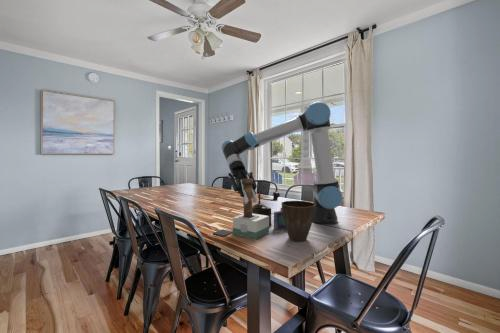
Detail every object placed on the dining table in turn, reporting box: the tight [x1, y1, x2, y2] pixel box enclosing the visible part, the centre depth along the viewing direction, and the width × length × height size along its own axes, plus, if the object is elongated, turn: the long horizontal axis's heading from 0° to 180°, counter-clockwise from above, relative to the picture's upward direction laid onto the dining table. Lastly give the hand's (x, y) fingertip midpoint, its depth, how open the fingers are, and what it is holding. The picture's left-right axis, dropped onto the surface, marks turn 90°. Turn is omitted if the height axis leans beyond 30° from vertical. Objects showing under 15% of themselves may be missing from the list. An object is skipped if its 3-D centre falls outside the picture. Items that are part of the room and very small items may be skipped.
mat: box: [212, 228, 233, 238], centre depth 118 cm, size 7×7×1 cm
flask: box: [273, 207, 287, 231], centre depth 125 cm, size 9×3×11 cm, turn 109°
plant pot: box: [280, 200, 315, 242], centre depth 110 cm, size 15×15×16 cm
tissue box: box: [232, 213, 270, 240], centre depth 118 cm, size 13×12×9 cm
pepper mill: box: [252, 191, 281, 227], centre depth 134 cm, size 16×11×18 cm
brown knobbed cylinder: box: [241, 177, 253, 218], centre depth 116 cm, size 5×5×18 cm
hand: (251, 201), depth 113 cm, fingers closed on brown knobbed cylinder, 4 cm apart
